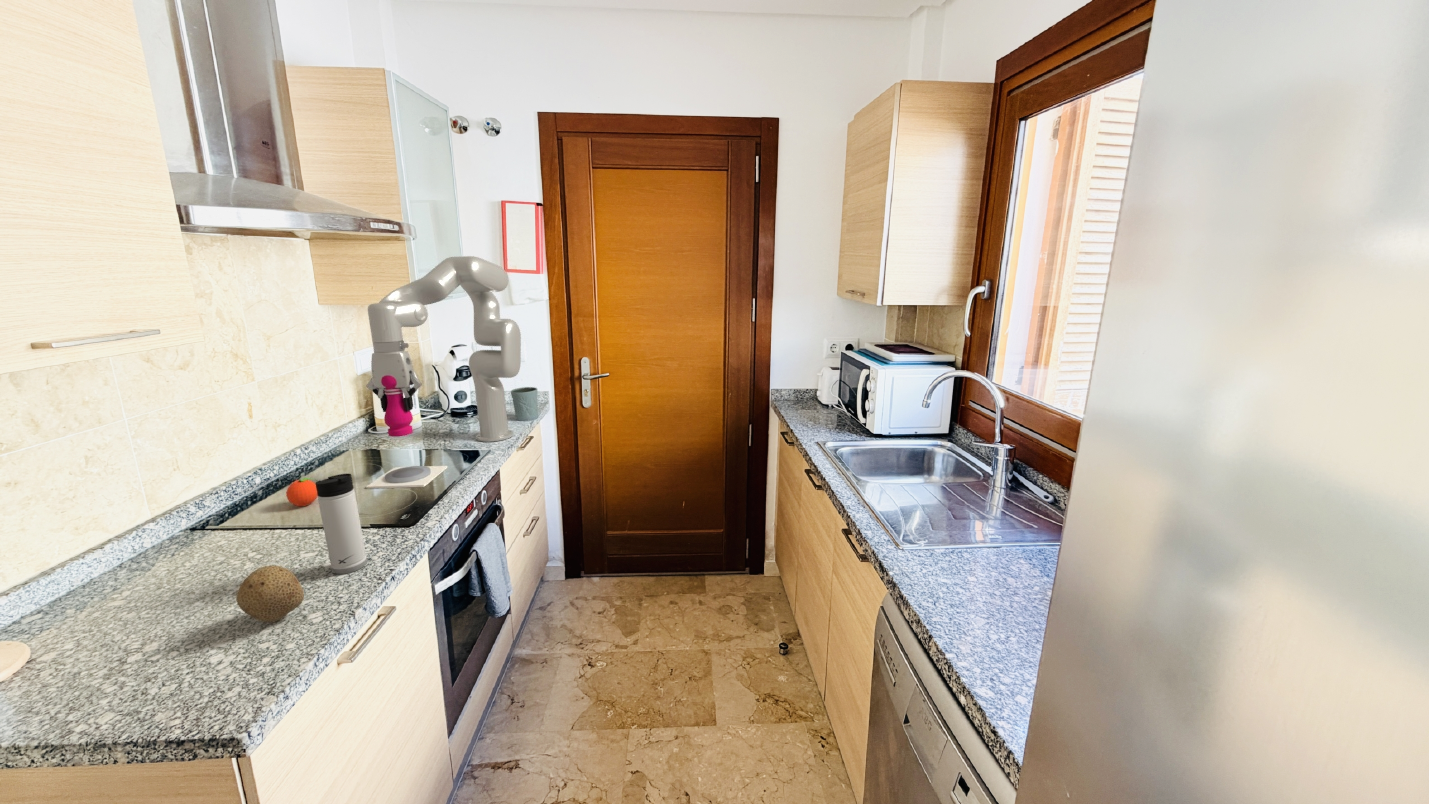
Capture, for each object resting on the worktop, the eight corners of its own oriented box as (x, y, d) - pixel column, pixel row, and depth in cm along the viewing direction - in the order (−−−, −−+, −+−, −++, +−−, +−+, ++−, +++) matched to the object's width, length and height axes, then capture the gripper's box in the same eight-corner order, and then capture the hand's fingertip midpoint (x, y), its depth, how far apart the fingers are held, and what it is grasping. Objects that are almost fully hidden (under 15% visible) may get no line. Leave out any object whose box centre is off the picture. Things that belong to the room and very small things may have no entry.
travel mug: (348, 577, 117) (330, 483, 113) (324, 571, 120) (306, 479, 115) (375, 562, 123) (359, 472, 118) (352, 557, 125) (336, 469, 121)
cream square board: (394, 469, 180) (394, 464, 180) (447, 467, 180) (446, 462, 180) (366, 488, 165) (365, 483, 164) (423, 486, 165) (423, 481, 165)
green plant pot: (542, 415, 242) (539, 386, 239) (536, 421, 232) (533, 391, 229) (517, 415, 241) (514, 387, 238) (510, 422, 231) (507, 392, 229)
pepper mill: (406, 437, 166) (395, 367, 161) (381, 437, 166) (370, 367, 161) (419, 430, 173) (409, 363, 168) (395, 430, 173) (385, 363, 168)
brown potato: (237, 620, 103) (225, 569, 101) (297, 598, 110) (287, 550, 108) (249, 641, 98) (237, 587, 95) (311, 617, 104) (301, 566, 102)
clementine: (314, 496, 160) (309, 472, 158) (330, 500, 157) (325, 475, 155) (283, 508, 152) (277, 482, 151) (299, 512, 150) (293, 486, 148)
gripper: (426, 345, 167) (434, 406, 171) (365, 346, 167) (374, 408, 171) (413, 348, 160) (422, 413, 164) (349, 350, 160) (360, 414, 164)
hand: (398, 410), depth 168 cm, fingers closed on pepper mill, 5 cm apart
